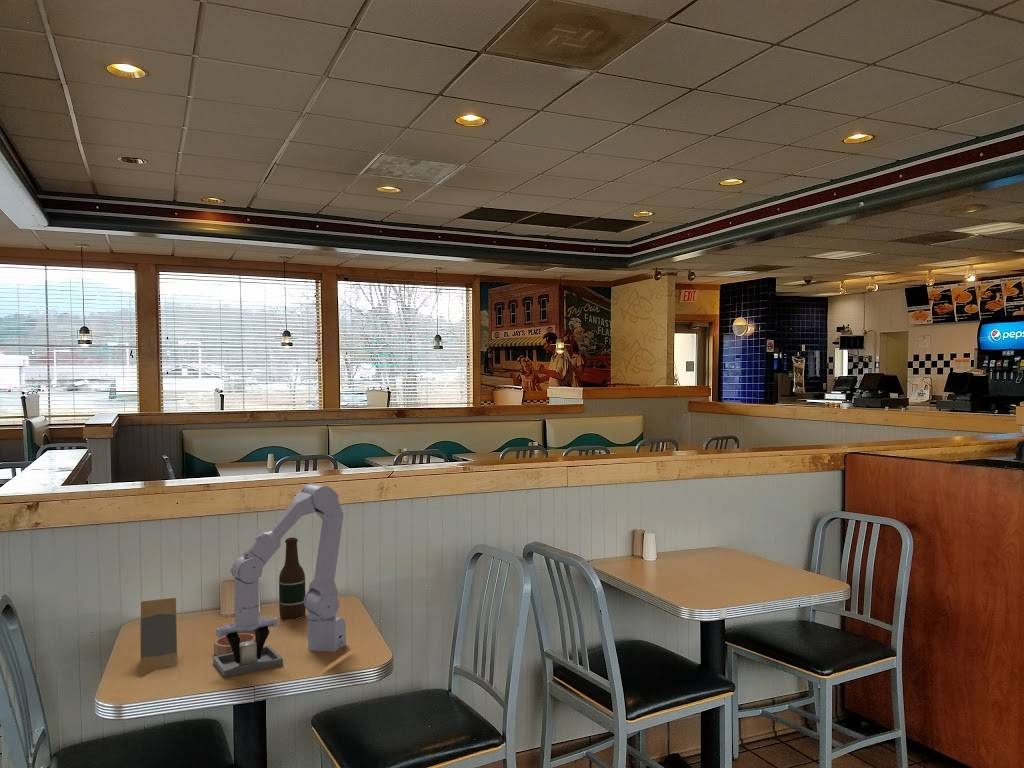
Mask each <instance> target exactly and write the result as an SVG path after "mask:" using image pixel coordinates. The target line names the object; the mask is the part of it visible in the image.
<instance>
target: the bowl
mask: <svg viewBox="0 0 1024 768" xmlns="http://www.w3.org/2000/svg"><path fill="white" fill-rule="evenodd" d="M237 634H238V636H239V638H240V643H242V642H246V641H255V642H256V639H255V633H254V634H253V633H247V632H240V633H237ZM229 653H233V651H232V648H231V645H230V643H229V641H228V639H227V637H226V635H225V636H222V637H217V638H216V639H214V641H213V655H215V656H219V655H224V654H229Z"/></svg>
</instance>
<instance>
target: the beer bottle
mask: <svg viewBox="0 0 1024 768" xmlns="http://www.w3.org/2000/svg"><path fill="white" fill-rule="evenodd" d="M298 541H299V540H298V538H296V537H287V538H286V539H285V541H284V542H285V558H284V559H285V560H284V566H283V567H282V569H281V570H280V573H279V576H278V598H279V599H278V605H279V606H278V609H279V618H280V617H282V618H283V619H282V618H281V619H282V620H284V619H294V620H297V619H296V618H298V619H300V618H299V617H302V616H303V617H304V616H305V615H306V610H307V609H306V608H305V606H304V597H305V595H306V574H305V572H304V568H303V567H302V565H301V564H300V563H299V562H300V561H299V554H298ZM303 617H302V618H303Z"/></svg>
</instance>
